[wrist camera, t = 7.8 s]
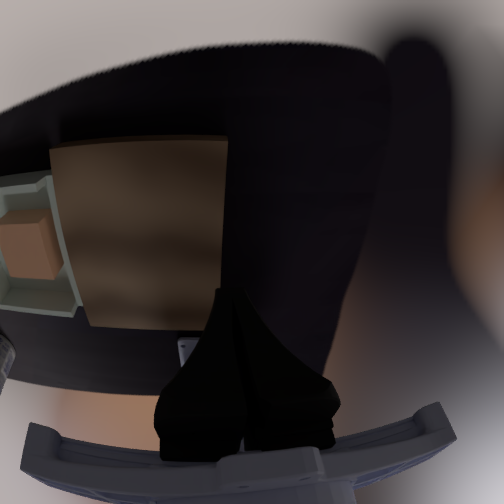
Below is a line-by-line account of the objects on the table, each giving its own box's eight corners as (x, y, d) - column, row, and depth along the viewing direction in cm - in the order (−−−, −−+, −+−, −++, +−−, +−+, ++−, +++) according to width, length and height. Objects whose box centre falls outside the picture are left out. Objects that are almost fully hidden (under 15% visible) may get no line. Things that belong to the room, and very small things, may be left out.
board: (217, 314, 27) (218, 330, 25) (95, 311, 25) (90, 325, 23) (226, 135, 18) (228, 141, 17) (61, 142, 17) (49, 149, 15)
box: (88, 295, 24) (78, 317, 21) (10, 289, 22) (-2, 308, 20) (61, 168, 18) (42, 182, 15) (-23, 180, 16) (-43, 194, 14)
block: (65, 261, 21) (54, 279, 19) (22, 260, 21) (10, 277, 18) (52, 208, 19) (38, 223, 17) (8, 211, 18) (-7, 225, 16)
